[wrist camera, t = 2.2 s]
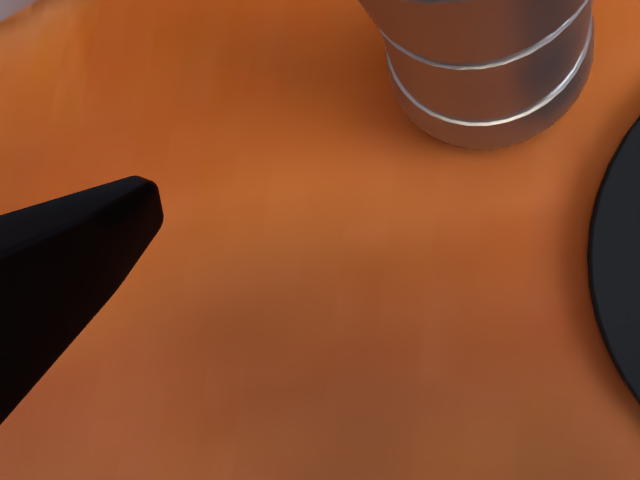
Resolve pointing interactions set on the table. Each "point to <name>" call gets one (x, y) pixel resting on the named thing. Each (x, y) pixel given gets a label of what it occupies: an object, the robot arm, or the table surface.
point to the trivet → (618, 259)
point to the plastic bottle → (485, 64)
